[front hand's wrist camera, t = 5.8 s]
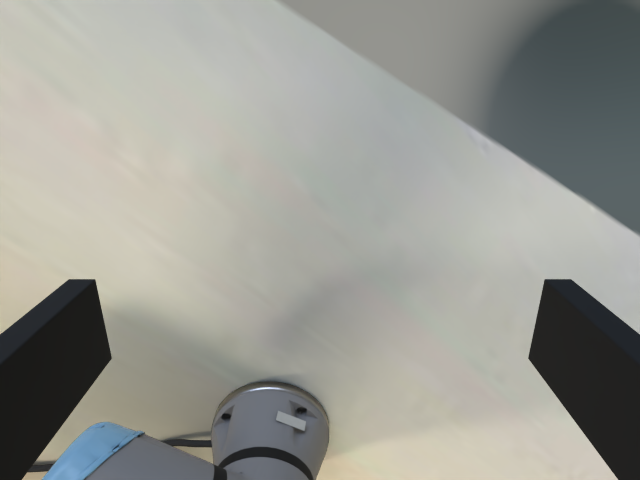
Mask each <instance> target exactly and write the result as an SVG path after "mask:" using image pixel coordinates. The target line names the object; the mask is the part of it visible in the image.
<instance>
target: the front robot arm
mask: <svg viewBox="0 0 640 480" xmlns="http://www.w3.org/2000/svg"><path fill="white" fill-rule="evenodd" d="M111 359H112V357H111V353H110V348H109V343H108V338H107V334H106V329H105V324H104V319H103V314H102V310H101V305H100V300H99V295H98V290H97V286H96V281H95V279H69V280H68V281H66V282H65V283H64V284H63V285H61V286H60V287H59V288H58V289H56V290H55V291H54V292H53V293H51V294H50V295H49V296H48V297H47V298H45V299H44V300H43V301H42V302H40V303H39V304H38V305H37V306H35V307H34V308H33V309H32V310H30V311H29V312H28V313H27V314H25V315H24V316H23V317H22V318H20V319H19V320H18V321H17V322H15V323H14V324H13V325H12V326H10V327H9V328H8V329H7V330H5V331H4V332H3V333H2V334H0V480H22V478H23V477H24V476H25V474H26V473H27V472H43V471H48V472H47V474H46V475H45V476H44V477H43V479H42V480H316V478H317V475H318V472H319V470H320V467H321V465H322V462H323V459H324V457H325V454H326V451H327V447H328V443H329V423H328V419H327V415H326V413H325V411H324V409H323V408H322V406H321V405H320V403H319V402H318V401H317V400H316V399H315V398H314V397H313V396H311V395H310V394H309V393H307V392H305V391H304V390H302V389H300V388H298V387H295V386H293V385H289V384H285V383H280V382H258V383H253V384H249V385H246V386H244V387H241V388H239V389H237V390H235V391H234V392H232V393H231V394H230V395H228V396H227V397H226V398H225V399H224V400H223V402H222V403H221V404H220V406H219V407H218V409H217V412H216V415H215V418H214V421H213V424H212V431H211V440H185V439H175V440H168V441H163V442H161V441H159V440H157V439H154V438H152V437H150V436H147V435H145V432H143V431H134V430H131V429H128V428H125V427H122V426H120V425H117V424H114V423H111V422H101V423H97V424H95V425H93V426H91V427H89V428H88V429H87V430H85V431H84V432H83V433H82V434H81V435H80V436H79V437H78V438H77V439H76V440H75V441H74V442H73V443H72V444H71V445H70V446H69V447H68V449H67V450H66V451H65V452H64V453H63V454H62V455H61V457H60V458H59V459H58V460H57V461H56V462H55V464H50V465H33V464H34V462H35V461H36V460H37V458H38V457H39V456H40V454H41V453H42V452H43V450H44V449H45V447H46V446H47V445H48V443H49V442H50V441H51V439H52V438H53V437H54V435H55V434H56V433H57V431H58V430H59V429H60V427H61V426H62V425H63V423H64V422H65V421H66V419H67V418H68V417H69V415H70V414H71V412H72V411H73V410H74V408H75V407H76V406H77V404H78V403H79V402H80V400H81V399H82V398H83V396H84V395H85V394H86V392H87V391H88V390H89V388H90V387H91V386H92V384H93V383H94V381H95V380H96V379H97V377H98V376H99V375H100V373H101V372H102V371H103V369H104V368H105V367H106V365H107V364H108V363H109V361H110V360H111ZM528 359H529V360H530V361H531V363H532V364H533V365H534V367H535V368H536V369H537V371H538V372H539V373H540V375H541V376H542V377H543V379H544V380H545V381H546V383H547V384H548V386H549V387H550V388H551V390H552V391H553V392H554V394H555V395H556V396H557V398H558V399H559V400H560V402H561V403H562V404H563V406H564V407H565V408H566V410H567V411H568V412H569V414H570V415H571V417H572V418H573V419H574V421H575V422H576V423H577V425H578V426H579V427H580V429H581V430H582V431H583V433H584V434H585V435H586V437H587V438H588V439H589V441H590V442H591V443H592V445H593V446H594V447H595V449H596V450H597V452H598V453H599V454H600V456H601V457H602V458H603V460H604V461H605V462H606V464H607V465H608V466H609V468H610V469H611V470H612V472H613V473H614V474H615V476H616V477H617V478H618V480H640V334H638V333H637V332H636V331H635V330H633V329H632V328H631V327H630V326H628V325H627V324H626V323H625V322H623V321H622V320H621V319H620V318H618V317H617V316H616V315H615V314H613V313H612V312H611V311H610V310H608V309H607V308H606V307H605V306H603V305H602V304H601V303H600V302H598V301H597V300H596V299H595V298H593V297H592V296H591V295H590V294H589V293H587V292H586V291H585V290H584V289H582V288H581V287H580V286H579V285H577V284H576V283H575V282H574V281H572V280H571V279H545V281H544V286H543V290H542V295H541V300H540V305H539V310H538V314H537V319H536V324H535V329H534V334H533V338H532V343H531V348H530V353H529V357H528ZM172 446H187V447H212V452H213V462H214V464H212V463H210V462H207V461H205V460H203V459H200V458H198V457H196V456H193V455H191V454H188V453H186V452H184V451H182V450H179V449H177V448H175V447H172Z"/></svg>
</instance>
